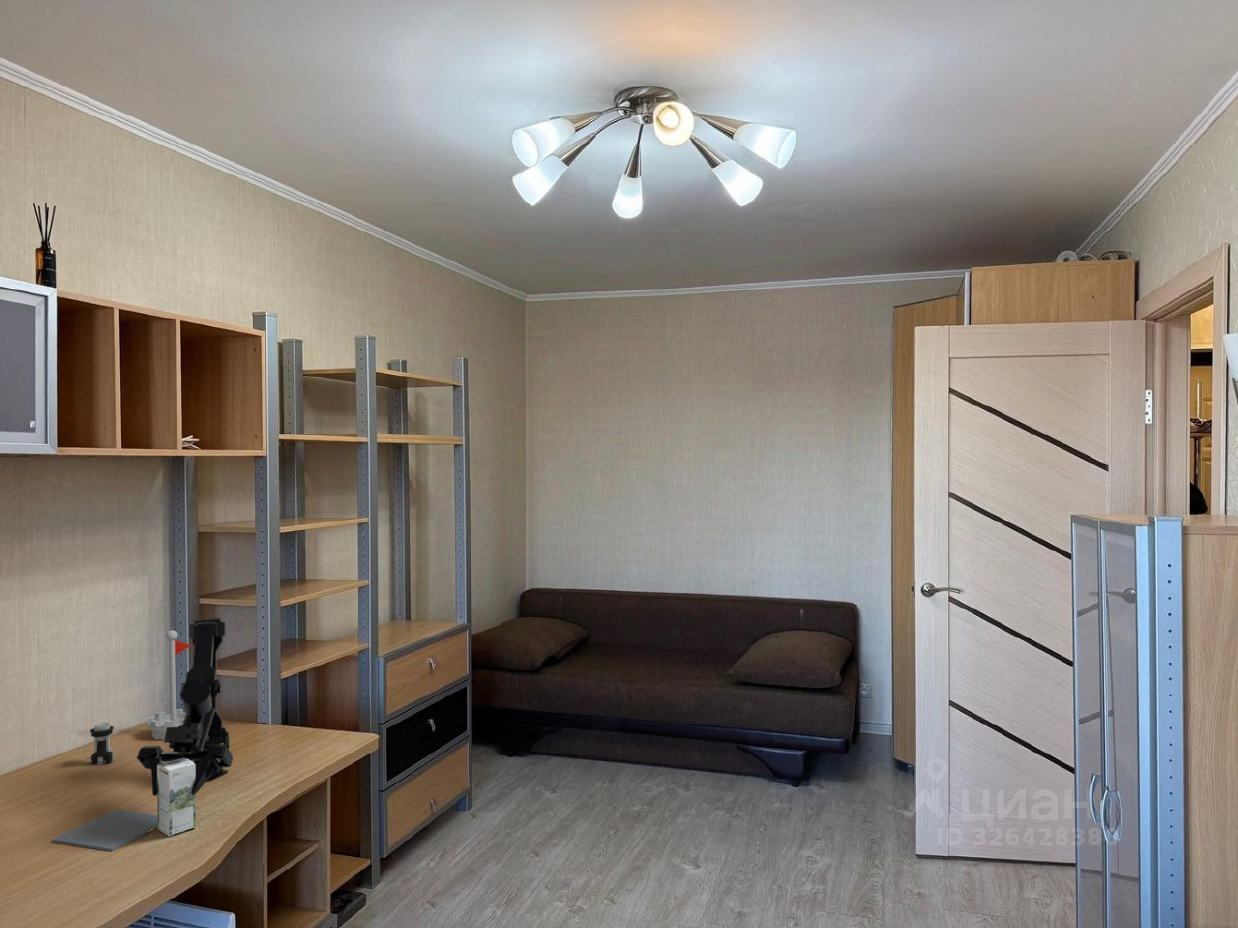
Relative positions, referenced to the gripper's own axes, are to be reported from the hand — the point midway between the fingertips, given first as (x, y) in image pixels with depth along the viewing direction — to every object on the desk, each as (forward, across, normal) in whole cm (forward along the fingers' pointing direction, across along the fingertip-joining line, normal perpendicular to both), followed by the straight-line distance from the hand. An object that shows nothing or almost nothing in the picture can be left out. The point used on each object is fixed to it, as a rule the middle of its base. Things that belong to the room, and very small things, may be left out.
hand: (173, 794), depth 189 cm
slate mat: (+4, -14, +7) cm, 16 cm away
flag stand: (-42, -32, +54) cm, 76 cm away
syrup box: (+5, 0, +7) cm, 8 cm away
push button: (-26, -40, +38) cm, 61 cm away
